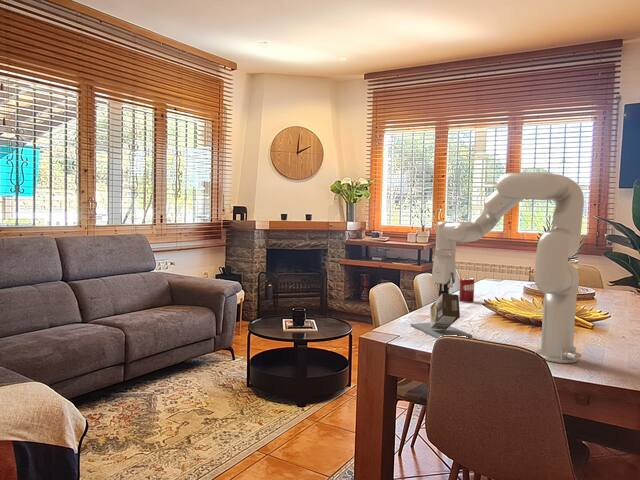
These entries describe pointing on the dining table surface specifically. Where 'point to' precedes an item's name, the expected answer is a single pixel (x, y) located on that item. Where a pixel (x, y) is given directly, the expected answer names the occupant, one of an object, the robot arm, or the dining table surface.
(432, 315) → the coffee box
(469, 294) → the soda can
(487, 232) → the robot arm
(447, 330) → the mat
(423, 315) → the dining table surface
